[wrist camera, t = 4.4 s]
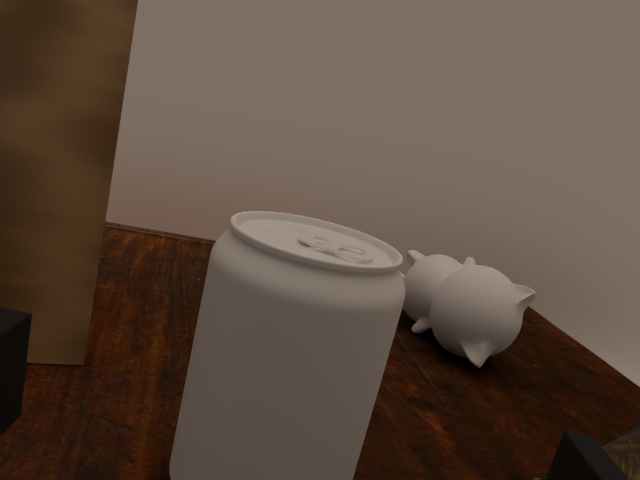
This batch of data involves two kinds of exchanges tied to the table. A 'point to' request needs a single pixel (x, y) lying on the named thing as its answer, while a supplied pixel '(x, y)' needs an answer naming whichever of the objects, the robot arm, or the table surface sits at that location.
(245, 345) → the beverage can
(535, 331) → the table surface
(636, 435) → the seashell
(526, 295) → the cat figurine
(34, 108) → the plinth
